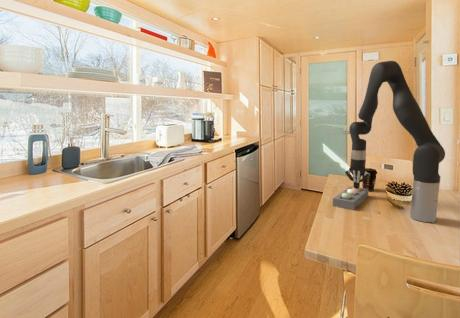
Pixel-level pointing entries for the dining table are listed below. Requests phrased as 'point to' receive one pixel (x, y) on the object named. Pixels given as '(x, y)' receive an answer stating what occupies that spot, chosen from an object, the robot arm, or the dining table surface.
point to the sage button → (346, 196)
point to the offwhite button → (351, 191)
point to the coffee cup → (369, 179)
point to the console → (354, 199)
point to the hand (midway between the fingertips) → (356, 188)
